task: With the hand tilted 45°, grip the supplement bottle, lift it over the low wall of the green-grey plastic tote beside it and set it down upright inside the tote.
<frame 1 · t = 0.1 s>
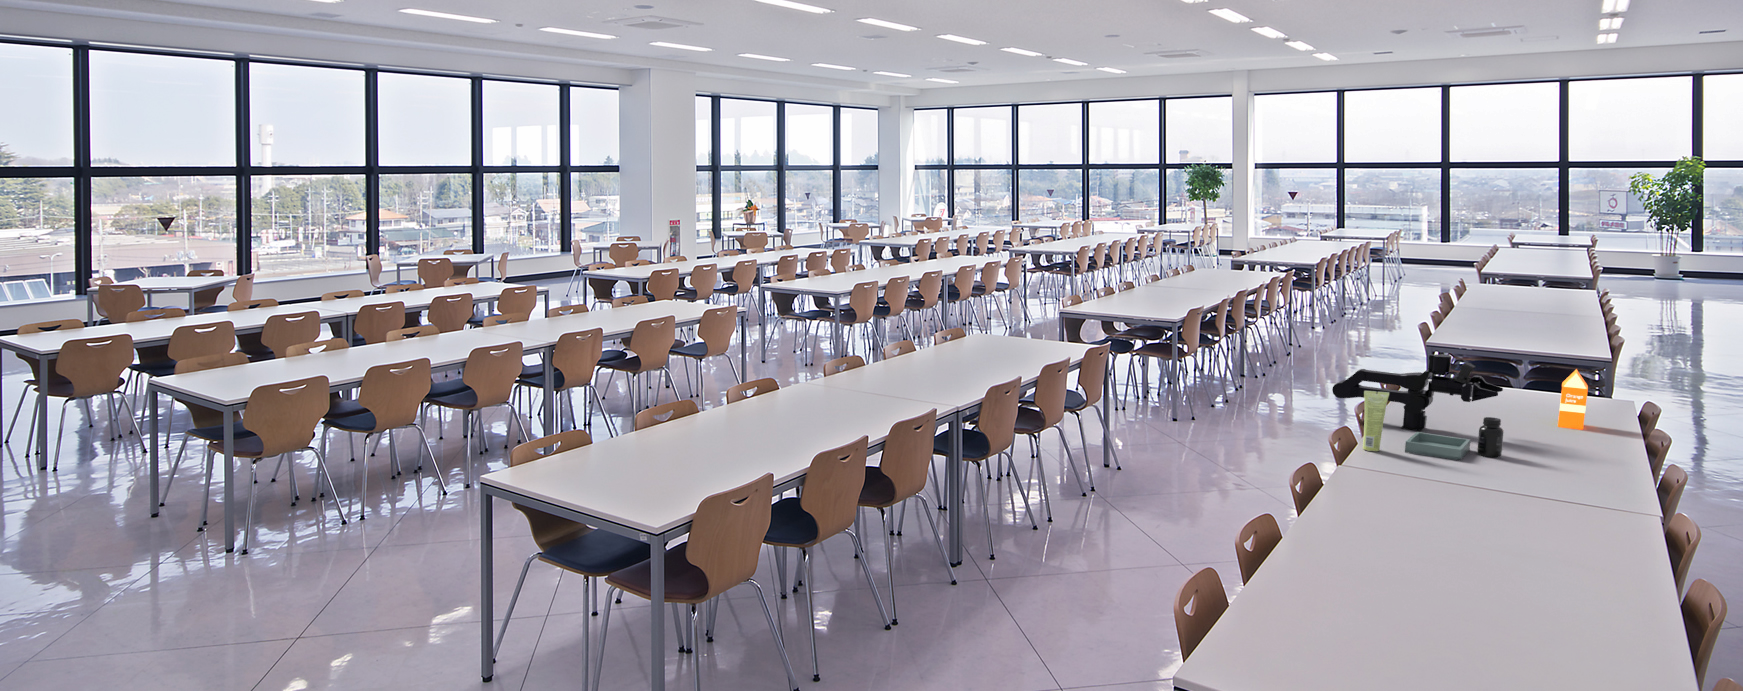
hand: (1500, 391, 362), 17 cm above the table, tool horizontal, fingers open, 9 cm apart
supplement bottle: (1488, 455, 347), on the table
orange juice: (1570, 426, 385), on the table
tube: (1371, 450, 352), on the table
tote: (1437, 451, 351), on the table
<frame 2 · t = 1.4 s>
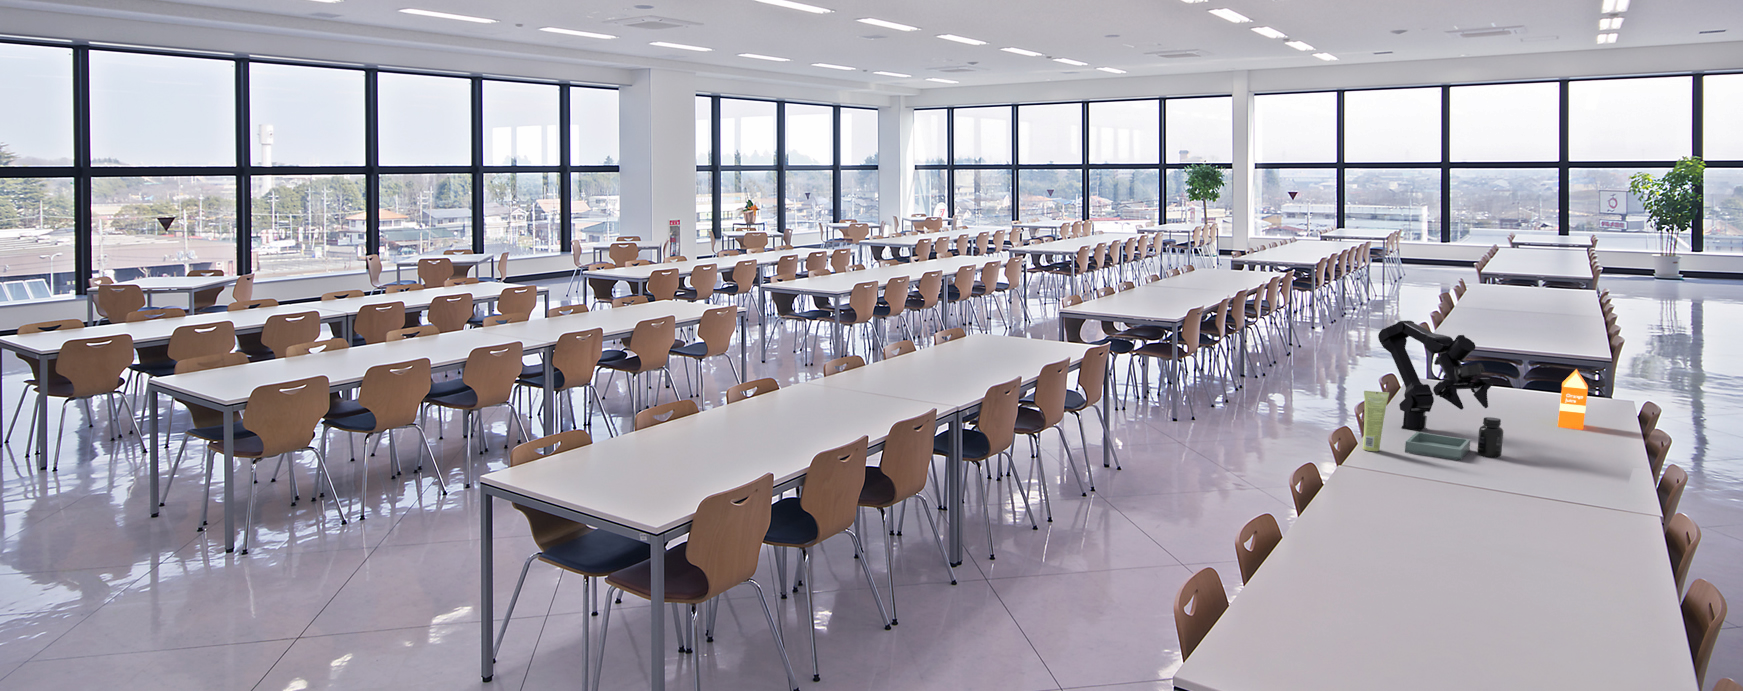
hand: (1474, 408, 352), 14 cm above the table, tool tilted 45°, fingers open, 9 cm apart
nothing on the table moved.
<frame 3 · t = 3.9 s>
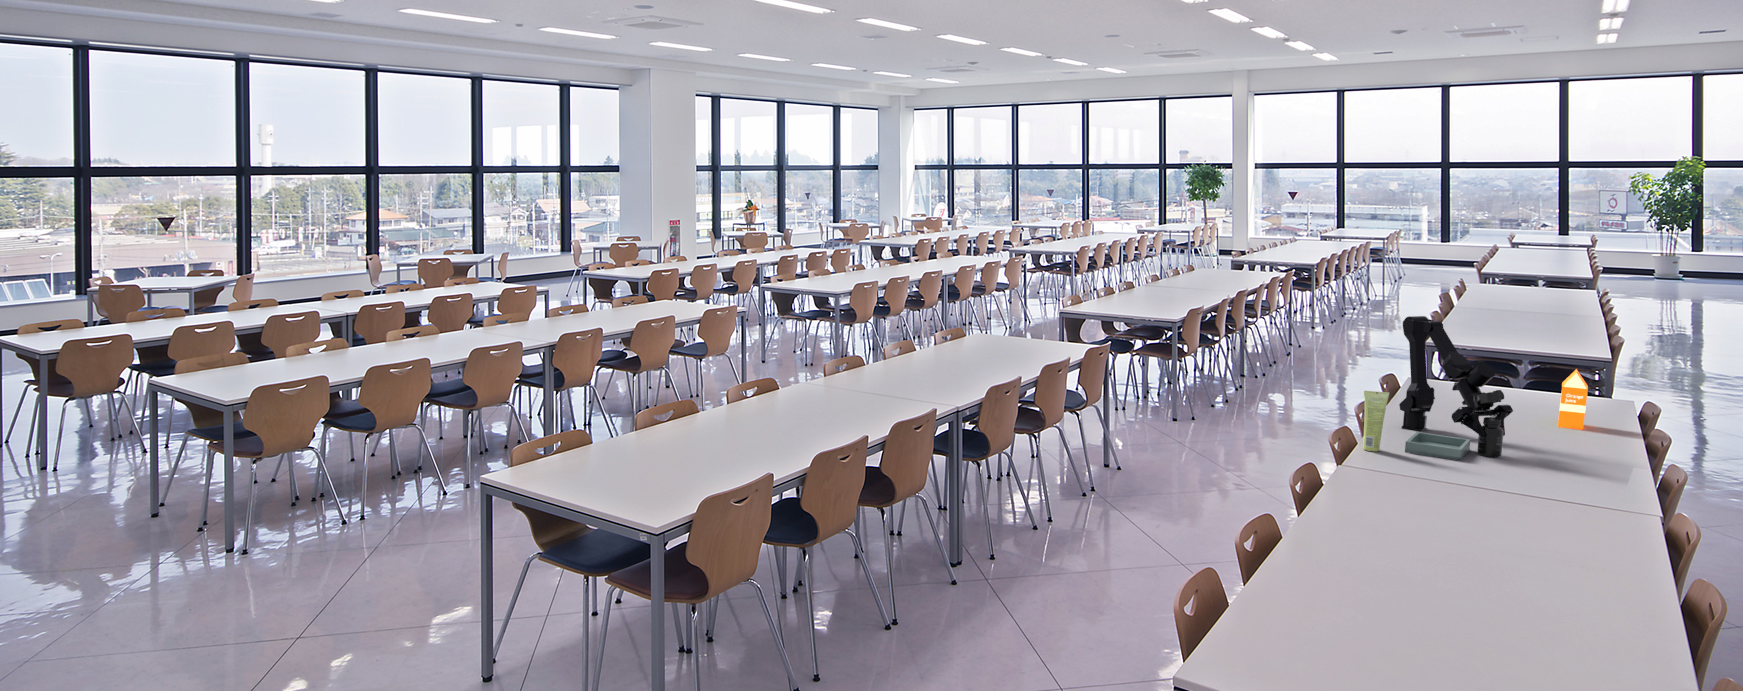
hand: (1494, 436, 344), 7 cm above the table, tool tilted 45°, fingers closed on supplement bottle, 7 cm apart
supplement bottle: (1488, 455, 347), on the table, touching gripper
everything else where it was.
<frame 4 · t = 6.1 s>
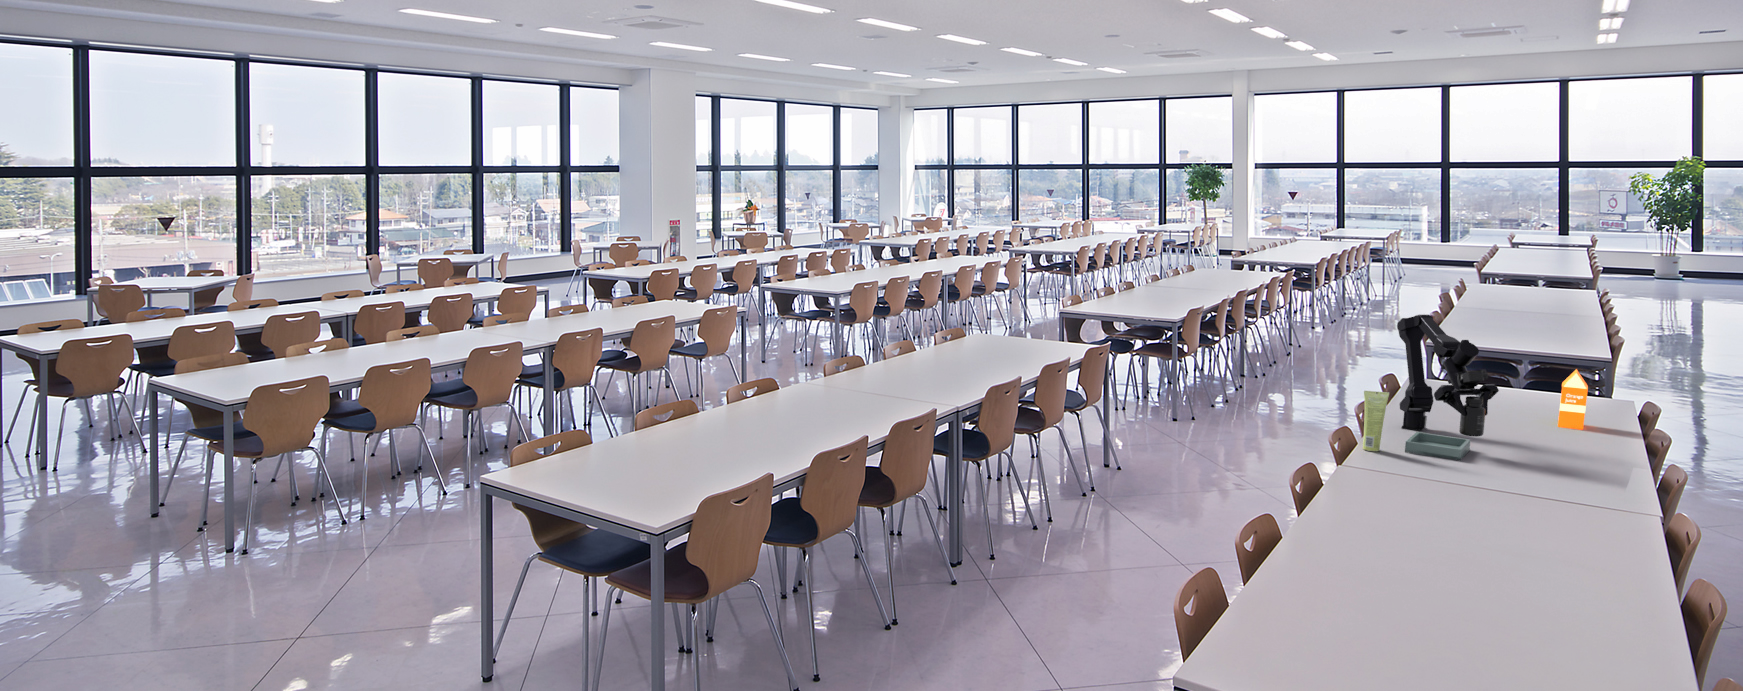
hand: (1475, 415, 344), 13 cm above the table, tool tilted 45°, fingers closed on supplement bottle, 7 cm apart
supplement bottle: (1470, 434, 347), point 6 cm above the table, touching gripper
everything else where it was.
when the fingers open (8 cm above the table, at t = 8.4 s): supplement bottle stays where it is, resting on tote.
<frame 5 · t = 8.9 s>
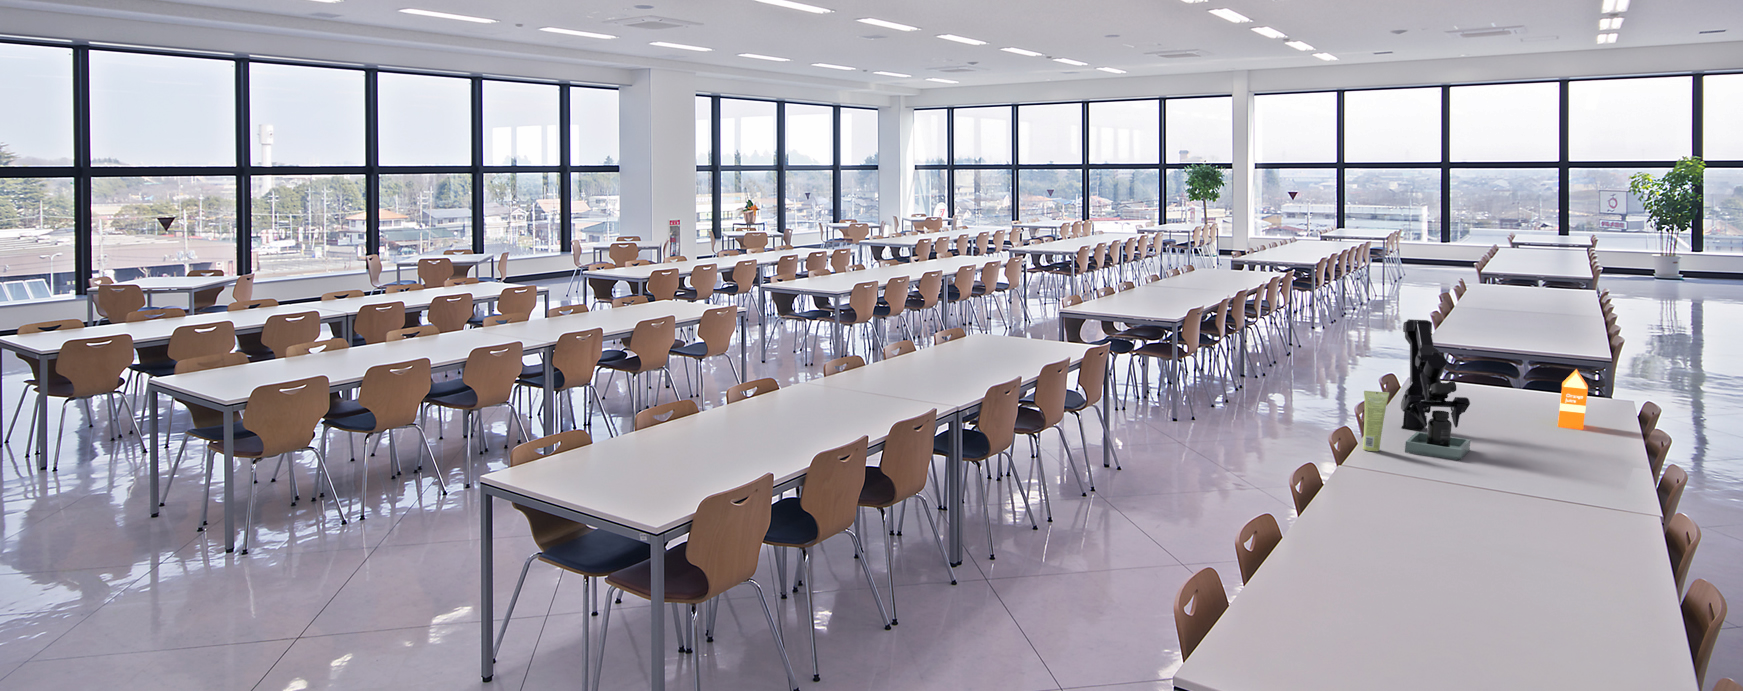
hand: (1441, 426, 348), 9 cm above the table, tool tilted 45°, fingers open, 9 cm apart
supplement bottle: (1437, 448, 351), point 1 cm above the table, touching tote
everything else where it was.
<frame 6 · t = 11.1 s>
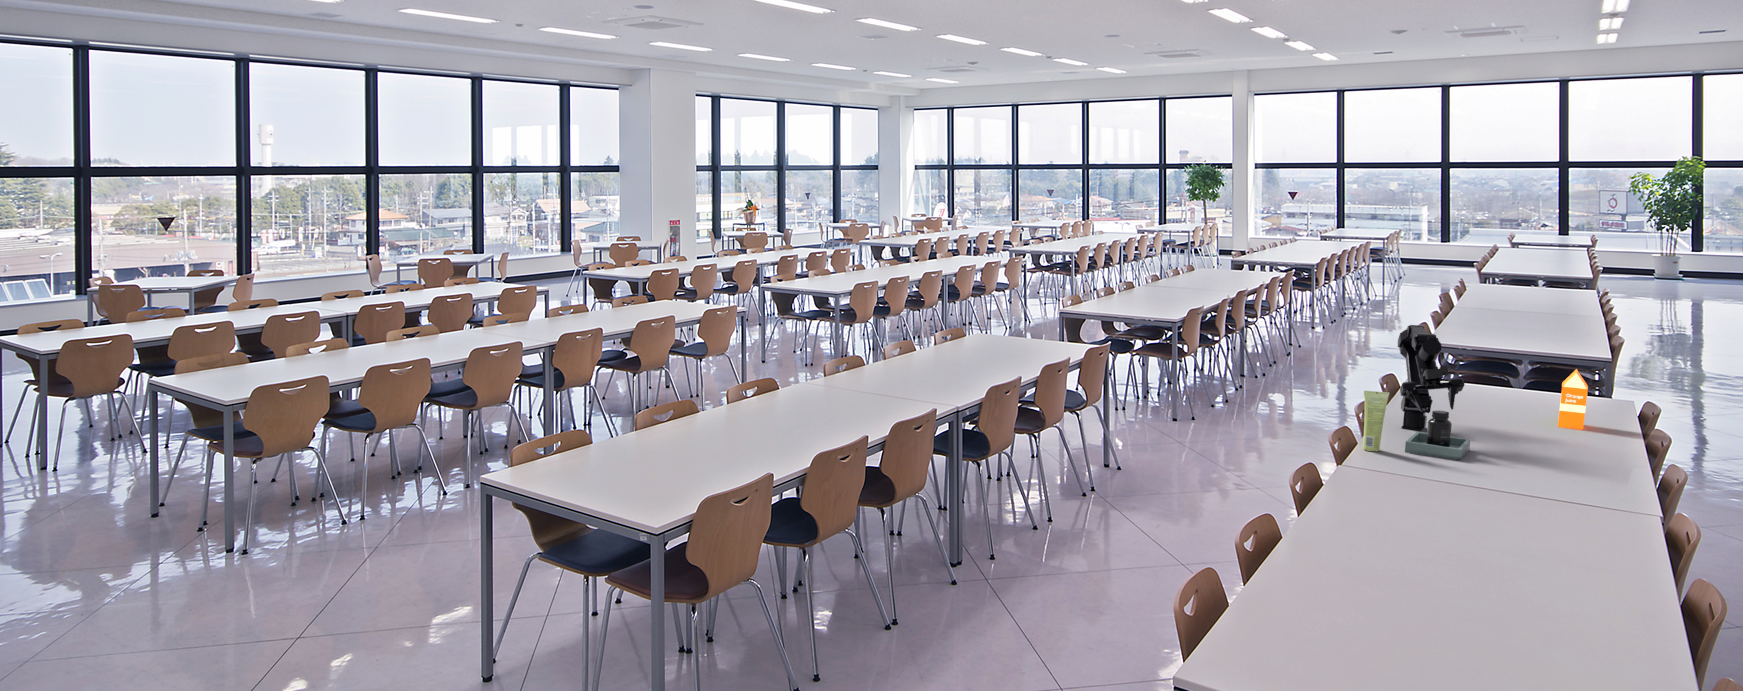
hand: (1437, 410, 358), 11 cm above the table, tool tilted 35°, fingers open, 9 cm apart
nothing on the table moved.
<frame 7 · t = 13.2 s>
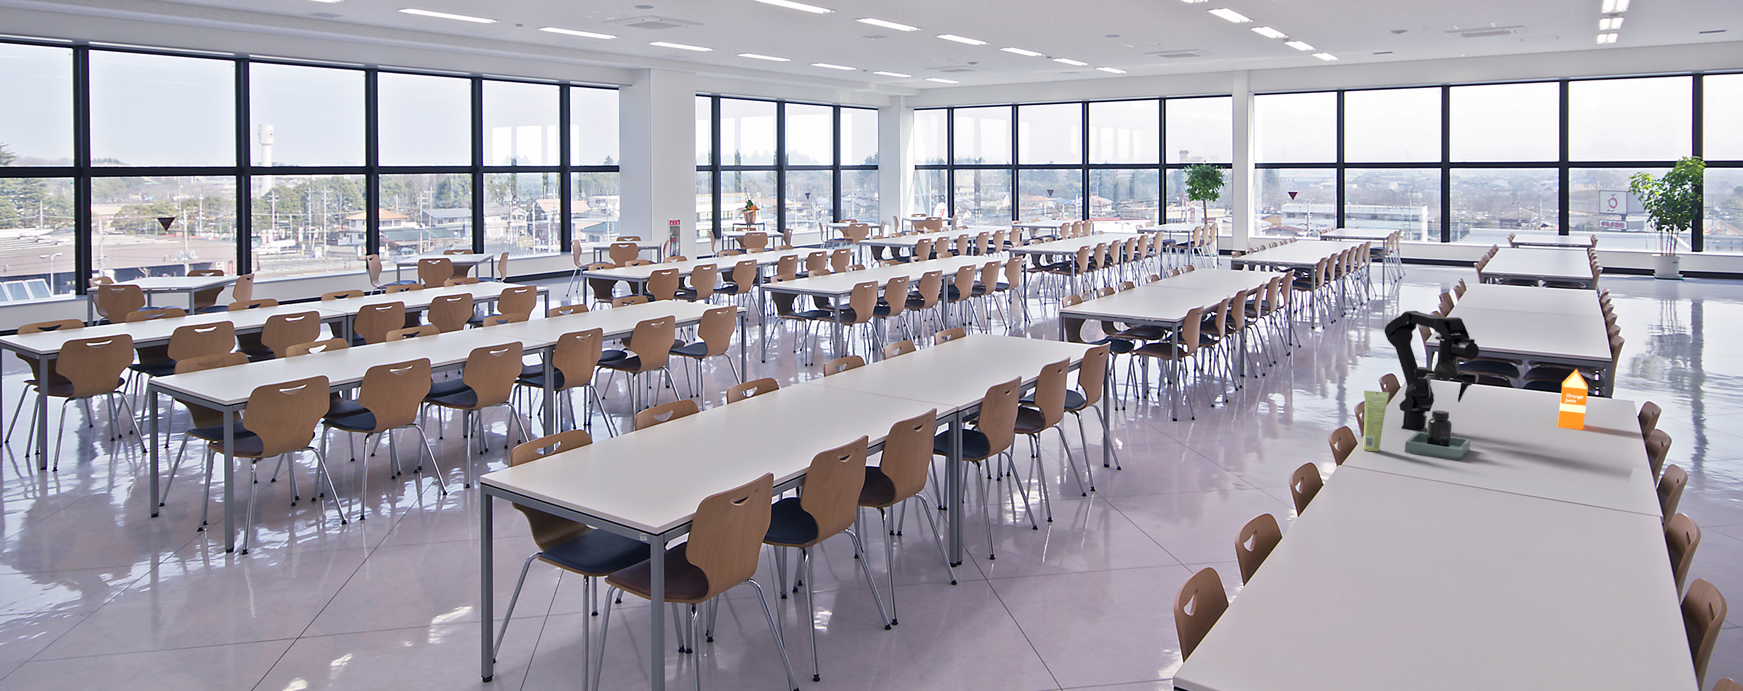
hand: (1443, 400, 366), 13 cm above the table, tool pointing down, fingers open, 9 cm apart
nothing on the table moved.
at the end: supplement bottle inside the target area on the tote (0.2 cm from its centre), point 0.8 cm above the tote's base; supplement bottle tilted 0°; the gripper is holding nothing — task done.
